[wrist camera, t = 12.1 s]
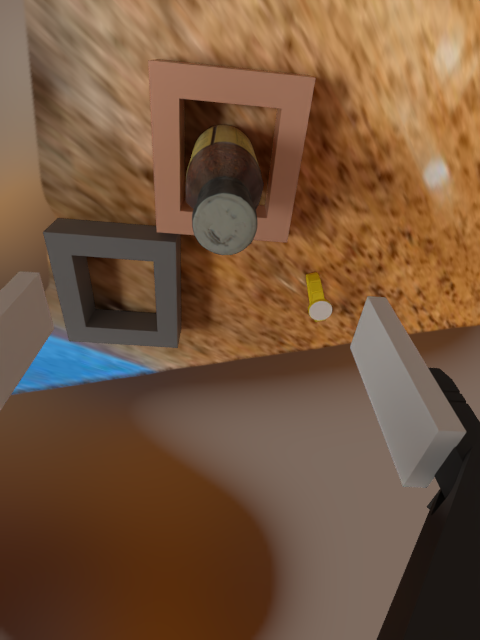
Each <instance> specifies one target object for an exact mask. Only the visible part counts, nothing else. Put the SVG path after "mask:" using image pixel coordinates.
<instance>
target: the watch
mask: <svg viewBox="0 0 480 640" xmlns="http://www.w3.org/2000/svg"><path fill="white" fill-rule="evenodd" d="M306 282H307V289H308V296H309V302H310V304H309V306H308V313H309V316H310V317H311V318H312V319H314V321H315V322H318V321H324V320H326V318H328V317H329V316H330V315H331V313H332V306H331V303H330V302H329V301H328V300H326V299H325V298H324V293H323V288H322V284H321V280H320V277H319V274H318V273H317V272H314V273H309V274H306Z"/></svg>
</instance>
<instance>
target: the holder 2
mask: <svg viewBox="0 0 480 640" xmlns="http://www.w3.org/2000/svg"><path fill="white" fill-rule="evenodd" d="M148 64H149V84H150V105H151V126H152V146H153V167H154V187H155V208H156V228H157V232H161V233H174V234H186V235H194V232H193V228H192V213H193V208H192V207H191V206H190V205H188V204H187V203H186V199H185V99H190V100H200V101H210V102H220V103H230V104H240V105H251V106H261V107H271V108H277V114H276V122H275V130H274V138H273V145H272V153H271V161H270V169H269V177H268V185H267V192H266V200H265V205H258V206H257V209H256V213H257V231H256V234H255V237H254V239H253V240H262V241H274V242H287V240H288V234H289V228H290V223H291V217H292V211H293V205H294V200H295V194H296V188H297V182H298V177H299V171H300V165H301V159H302V154H303V148H304V142H305V136H306V131H307V125H308V119H309V113H310V108H311V102H312V96H313V90H314V85H315V79H316V78H315V77H312V76H309V75H302V74H292V73H283V72H273V71H264V70H254V69H245V68H235V67H226V66H216V65H207V64H197V63H188V62H178V61H168V60H159V59H155V60H148Z"/></svg>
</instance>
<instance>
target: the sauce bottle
mask: <svg viewBox="0 0 480 640" xmlns="http://www.w3.org/2000/svg"><path fill="white" fill-rule="evenodd" d="M185 190H186V198H185V199H186V203H187V204H188V205H190V206H191V207H192V208H193V213H192V228H193V232H194V235H195V237H196V239H197V240H198V242H199V243H200V245H202V246H203V247H204V248H206V249H207V250H209V251H211V252H213V253H216V254H220V255H232V254H236V253H238V252H240V251H242V250H244V249H245V248H246V247H247V246H248V245H249V244H251V242H252V241H253V239H254V237H255V234H256V231H257V213H256V209H257V206H258V204H259V202H260V198H261V195H262V191H263V180H262V177H261V171H260V168H259V165H258V162H257V159H256V156H255V153H254V150H253V147H252V144H251V142H250V140H249V139H248V137H247V136H246V135H245V134H244V133H243V132H241V131H240V130H239V129H238V128H236V127H232V126H228V125H215V126H212V127H210V128H209V129H207V130H206V131H205V132H204V133H202V134H201V135H200V137H199V138H198V139H197V141H196V143H195V146H194V149H193V152H192V156H191V159H190V163H189V166H188V169H187V174H186V186H185Z"/></svg>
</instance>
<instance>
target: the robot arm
mask: <svg viewBox="0 0 480 640" xmlns="http://www.w3.org/2000/svg"><path fill="white" fill-rule="evenodd" d="M53 330H54V326H53V322H52V318H51V315H50V311H49V307H48V303H47V299H46V296H45V292H44V289H43V284H42V280H41V277H40V273H36V272H22V271H19V272H18V273H17V274H16V275H15V276H14V277H13V278H12V279H11V280H10V282H8V283H7V284H6V285H5V286H4V287H3V288H2V289H1V290H0V410H1V409H2V407H3V406H4V404H5V403H6V401H7V400H8V398H9V397H10V395H11V393H12V392H13V390H14V389H15V387H16V386H17V384H18V383H19V381H20V380H21V378H22V377H23V375H24V374H25V372H26V371H27V369H28V368H29V366H30V365H31V363H32V362H33V360H34V358H35V357H36V355H37V354H38V352H39V351H40V349H41V348H42V346H43V345H44V343H45V342H46V340H47V339H48V337H49V336H50V334H51V333H52V331H53ZM350 349H351V351H352V353H353V356H354V359H355V362H356V364H357V367H358V369H359V372H360V375H361V377H362V380H363V382H364V385H365V388H366V391H367V393H368V396H369V398H370V401H371V404H372V406H373V409H374V412H375V414H376V417H377V419H378V422H379V425H380V427H381V430H382V433H383V435H384V438H385V441H386V443H387V446H388V449H389V451H390V454H391V456H392V459H393V462H394V464H395V467H396V470H397V472H398V475H399V477H400V480H401V482H402V485H403V487H423V488H427V487H428V485H429V484H430V483H431V481H432V480H433V478H434V477H435V478H436V480H437V482H438V484H439V487H440V490H439V491H438V493H437V494H436V495H435V497H434V498H433V499H432V501H431V502H430V503H429V505H428V506H427V508H429V509H430V511H429V513H428V515H427V518H426V521H425V523H424V525H423V528H422V530H421V533H420V535H419V538H418V540H417V542H416V545H415V547H414V550H413V552H412V555H411V557H410V560H409V562H408V564H407V567H406V569H405V572H404V574H403V577H402V579H401V581H400V584H399V586H398V589H397V591H396V594H395V596H394V599H393V601H392V603H391V606H390V608H389V611H388V614H387V616H386V618H385V621H384V623H383V625H382V628H381V630H380V633H379V635H378V638H377V640H480V422H479V420H478V419H477V417H476V416H475V414H474V412H473V411H472V409H471V408H470V406H469V405H468V404H466V400H465V399H464V397H463V396H462V394H460V393H459V392H460V391H459V390H458V388H457V387H456V385H455V383H454V382H453V381H452V379H451V378H450V377H449V376H447V375H446V374H445V373H444V372H443V371H442V370H441V369H438V368H428V367H427V365H426V364H425V362H424V360H423V359H422V357H421V355H420V354H419V352H418V350H417V349H416V347H415V345H414V344H413V342H412V341H411V339H410V337H409V335H408V334H407V332H406V330H405V329H404V327H403V325H402V324H401V322H400V320H399V319H398V317H397V315H396V314H395V312H394V310H393V309H392V307H391V305H390V304H389V302H388V300H387V299H386V298H385V297H371V296H368V297H367V299H366V302H365V305H364V308H363V311H362V314H361V317H360V320H359V323H358V326H357V329H356V331H355V334H354V337H353V340H352V343H351V346H350Z"/></svg>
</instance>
